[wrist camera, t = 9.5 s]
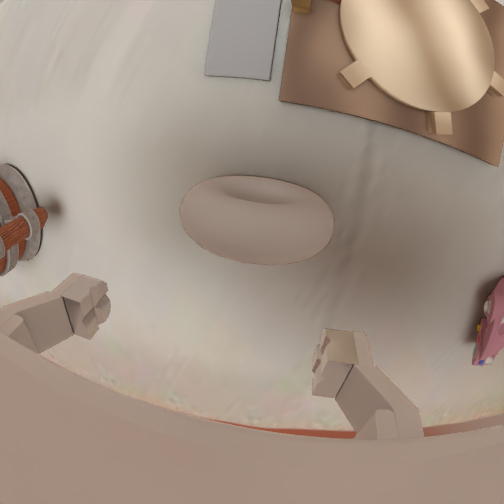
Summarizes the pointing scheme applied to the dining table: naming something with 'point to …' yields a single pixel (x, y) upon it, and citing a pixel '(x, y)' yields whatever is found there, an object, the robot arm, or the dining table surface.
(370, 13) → the index wheel
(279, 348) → the dining table surface
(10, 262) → the mug
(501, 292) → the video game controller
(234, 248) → the donut
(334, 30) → the wheel base
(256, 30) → the donut mat
